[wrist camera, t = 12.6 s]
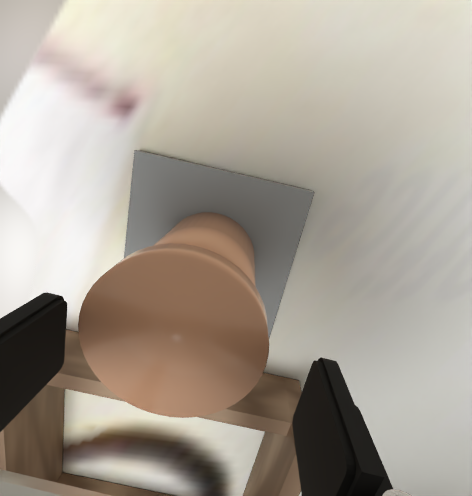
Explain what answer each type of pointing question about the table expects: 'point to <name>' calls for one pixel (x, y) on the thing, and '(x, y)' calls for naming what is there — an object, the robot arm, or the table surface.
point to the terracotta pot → (180, 321)
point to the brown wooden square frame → (84, 380)
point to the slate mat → (222, 202)
